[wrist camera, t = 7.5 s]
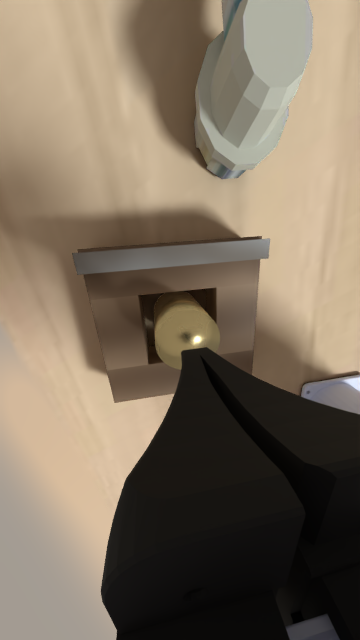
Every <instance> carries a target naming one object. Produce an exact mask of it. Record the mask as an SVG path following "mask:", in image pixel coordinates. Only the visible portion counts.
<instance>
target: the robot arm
mask: <svg viewBox="0 0 360 640" xmlns="http://www.w3.org/2000/svg"><path fill="white" fill-rule="evenodd" d="M181 361H182V367H181V373H180V378H179V381H178V385H177V389H176V392H175V394H174V397H173V400H172V402H171V405H170V407H169V409H168V411H167V414H166V416H165V418H164V420H163V422H162V424H161V425H160V427H159V429H158V431H157V432H156V434H155V436H154V438H153V439H152V441H151V443H150V445H149V446H148V448H147V449H146V451H145V452H144V454H143V455H142V457H141V458H140V460H139V461H138V462H137V464H136V465H135V467H134V468H133V470H132V471H131V473H130V474H129V475H128V477H127V478H126V480H125V483H124V486H123V489H122V492H121V495H120V498H119V501H118V505H117V508H116V512H115V515H114V519H113V523H112V527H111V532H110V536H109V540H108V546H107V552H106V559H105V566H104V573H103V580H102V586H101V595H102V602H103V604H104V605H105V607H106V609H107V611H108V613H109V615H110V617H111V619H112V621H113V623H114V625H115V627H116V629H117V638H116V640H360V375H354V376H348V377H342V378H336V379H330V380H324V381H318V382H312V383H307V384H305V385H304V386H303V388H302V394H301V396H298V395H295V394H293V393H290V392H287V391H285V390H282V389H280V388H278V387H275V386H273V385H271V384H269V383H266V382H264V381H262V380H260V379H258V378H256V377H254V376H252V375H250V374H249V373H247V372H245V371H243V370H241V369H240V368H238V367H236V366H235V365H233V364H231V363H230V362H228V361H227V360H225V359H224V358H222V357H221V356H219V355H218V354H216V353H215V352H213V351H212V350H210V349H209V348H207V347H204V348H196V349H189V350H183V351H182V352H181Z"/></svg>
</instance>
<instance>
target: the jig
mask: <svg viewBox="0 0 360 640" xmlns="http://www.w3.org/2000/svg"><path fill="white" fill-rule="evenodd" d="M269 245H270V239H262V236H257V237H243V238H230V239H216V240H202V241H188V242H174V243H160V244H147V245H133V246H119V247H105V248H91V249H78V253H72V255H73V259H74V263H75V267H76V271H77V275H81V274H83V275H84V279H85V283H86V287H87V291H88V295H89V299H90V304H91V308H92V312H93V316H94V320H95V324H96V328H97V332H98V337H99V341H100V345H101V349H102V353H103V357H104V361H105V365H106V369H107V374H108V378H109V382H110V386H111V390H112V394H113V398H114V402H115V403H117V402H123V401H129V400H136V399H142V398H148V397H155V396H161V395H167V394H173V393H175V392H176V389H177V385H178V381H179V378H180V373H181V370H180V369H175V368H172V367H170V366H168V365H167V364H165V363H164V362H163V361H162V360H161V358H160V357H159V355H158V353H157V351H156V346H151V347H149V346H148V339H147V332H146V325H145V318H144V311H143V304H142V297H141V295H146V294H156V293H166V292H176V291H186V290H196V289H206V312H207V314H208V315H209V316H210V317H211V318H212V319H213V320H214V321H215V323H216V324H217V326H218V329H219V332H220V343H219V347H218V349H217V351H216V354H218V355H219V356H221V357H222V358H224V359H225V360H227V361H228V362H230V363H231V364H233V365H235V366H236V367H238V368H240V369H241V370H243V371H245V372H247V373H249V374H250V375H252V364H253V351H254V337H255V323H256V309H257V296H258V282H259V268H260V259H266V258H268V257H269Z"/></svg>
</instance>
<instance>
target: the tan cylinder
mask: <svg viewBox="0 0 360 640" xmlns="http://www.w3.org/2000/svg"><path fill="white" fill-rule="evenodd" d="M154 329H155V346H156V351H157V353H158V355H159V357H160V358H161V360H162V361H163V362H164V363H165V364H167V365H168V366H170V367H172V368H175V369H180V370H181V367H182V361H181V352H182V351H183V350H189V349H196V348H204V347H207V348H209V349H210V350H212V351H213V352H215V353H216V351H217V349H218V347H219V343H220V332H219V329H218V326H217V324H216V323H215V321H214V320H213V319H212V318H211V317H210V316H209V315H208V314H207V312H206V311H205V310H204V309H203V308H202V307H201V306H200V304H199V303H198V302H197V301H196V300H195V299H194V298H193V297H192V296H191V295H190V294H189V293H187V292H185V291H176V292H166V293H164V294H163V295H161V296H160V297H159V298H158V300H157V301H156V303H155V306H154Z"/></svg>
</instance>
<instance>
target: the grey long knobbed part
mask: <svg viewBox="0 0 360 640" xmlns="http://www.w3.org/2000/svg"><path fill="white" fill-rule="evenodd" d="M222 14H223V29H224V31H222V32H221V33H220V34H219V35H218V36H217V37H216V38H215V39H214V40H213V41H212V42H211V43H210V44H209V45H208V47H207V51H206V54H205V57H204V61H203V64H202V67H201V71H200V74H199V78H198V81H197V85H196V90H195V100H196V112H197V113H196V117H195V121H194V128H195V140H196V148H199V149H200V151H201V153H202V155H203V157H204V159H205V161H206V163H207V165H208V166H207V169H208V170H209V171H211V172H212V173H214V174H215V175H217V176H218V177H219V178H221V179H229V178H238V177H239V176H240V175H241V174H242V173H243V172H244V171H246V170H251V169H254V168H255V167H256V166H257V165H258V164H259V163H260V162H261V161H262V160H263V159H264V158H266V157H267V156H268V155H269V154H270V153H271V152H272V151H273V150H274V149H275V148H276V146H277V145H278V142H279V140H280V137H281V134H282V131H283V129H284V126H285V123H286V121H287V118H288V105H289V104H290V102H291V100H292V99H293V97H294V96H295V94H296V92H297V89H298V87H299V84H300V81H301V78H302V76H303V73H304V70H305V68H306V65H307V62H308V59H309V56H310V53H311V50H312V32H313V16H312V13H311V10H310V6H309V3H308V0H222Z"/></svg>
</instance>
